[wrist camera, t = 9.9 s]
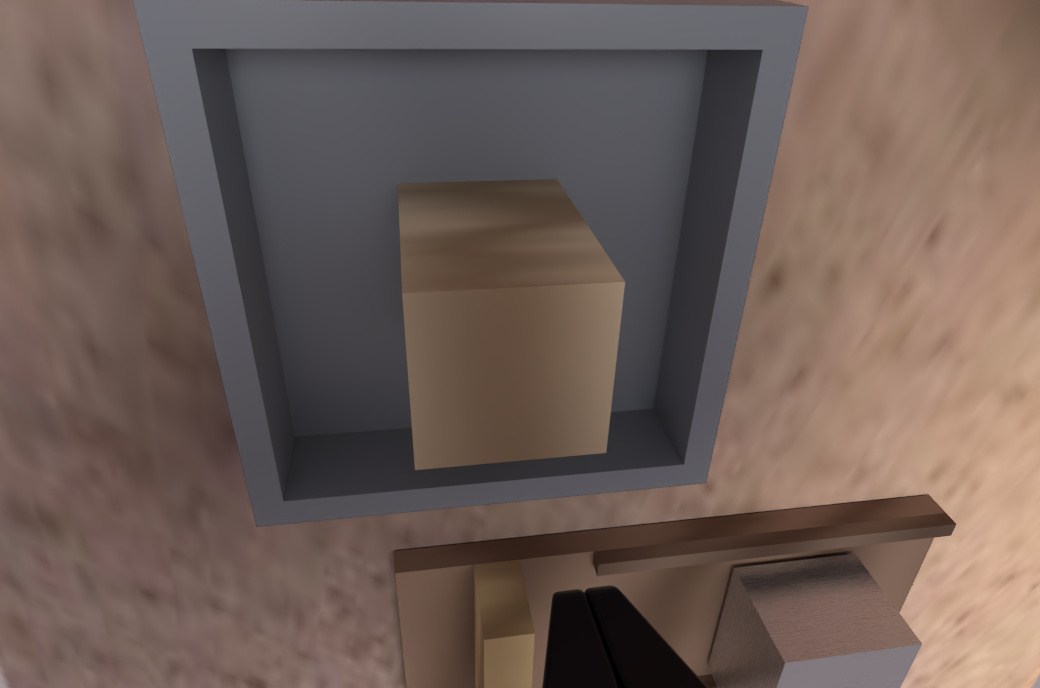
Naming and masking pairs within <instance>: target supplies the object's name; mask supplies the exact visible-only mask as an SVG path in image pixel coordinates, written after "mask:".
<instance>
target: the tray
mask: <svg viewBox="0 0 1040 688" xmlns="http://www.w3.org/2000/svg"><path fill="white" fill-rule="evenodd" d="M133 3H134V7H135V11H136V16H137V20H138V24H139V28H140V33H141V37H142V41H143V45H144V50H145V54H146V58H147V62H148V67H149V71H150V75H151V79H152V84H153V88H154V92H155V96H156V101H157V105H158V109H159V113H160V118H161V122H162V126H163V131H164V135H165V139H166V143H167V148H168V152H169V156H170V160H171V165H172V169H173V173H174V177H175V182H176V186H177V190H178V194H179V199H180V203H181V207H182V211H183V216H184V220H185V224H186V228H187V233H188V237H189V241H190V245H191V250H192V254H193V258H194V262H195V267H196V271H197V275H198V279H199V284H200V288H201V292H202V296H203V301H204V305H205V309H206V313H207V318H208V322H209V326H210V331H211V335H212V339H213V343H214V348H215V352H216V356H217V360H218V365H219V369H220V373H221V377H222V382H223V386H224V390H225V394H226V399H227V403H228V407H229V411H230V416H231V420H232V424H233V428H234V433H235V437H236V441H237V445H238V450H239V454H240V458H241V462H242V467H243V471H244V475H245V479H246V484H247V488H248V492H249V496H250V501H251V505H252V509H253V513H254V518H255V522H256V526H257V527H260V526H270V525H280V524H290V523H301V522H311V521H321V520H332V519H342V518H352V517H362V516H373V515H383V514H393V513H404V512H414V511H424V510H434V509H445V508H455V507H465V506H476V505H486V504H496V503H506V502H517V501H527V500H537V499H548V498H558V497H568V496H578V495H589V494H599V493H609V492H620V491H630V490H640V489H650V488H661V487H671V486H681V485H692V484H702V483H706V481H707V476H708V472H709V467H710V462H711V458H712V453H713V449H714V444H715V439H716V435H717V430H718V425H719V421H720V416H721V411H722V407H723V402H724V397H725V393H726V388H727V383H728V379H729V374H730V369H731V365H732V360H733V356H734V351H735V346H736V342H737V337H738V332H739V328H740V323H741V318H742V314H743V309H744V304H745V300H746V295H747V290H748V286H749V281H750V276H751V272H752V267H753V262H754V258H755V253H756V249H757V244H758V239H759V235H760V230H761V225H762V221H763V216H764V211H765V207H766V202H767V197H768V193H769V188H770V183H771V179H772V174H773V169H774V165H775V160H776V156H777V151H778V146H779V142H780V137H781V132H782V128H783V123H784V118H785V114H786V109H787V104H788V100H789V95H790V90H791V86H792V81H793V76H794V72H795V67H796V63H797V58H798V53H799V49H800V44H801V39H802V35H803V30H804V25H805V21H806V16H807V11H808V6H803V5H798V4H793V3H788V2H783V1H778V0H133ZM539 179H557V180H558V181H559V183H560V184H561V186H562V187H563V189H564V190H565V192H566V193H567V195H568V196H569V198H570V199H571V201H572V202H573V204H574V205H575V207H576V208H577V210H578V211H579V213H580V214H581V216H582V217H583V219H584V220H585V222H586V223H587V225H588V226H589V228H590V229H591V231H592V232H593V234H594V236H595V237H596V239H597V240H598V242H599V243H600V245H601V246H602V248H603V249H604V251H605V252H606V254H607V255H608V257H609V258H610V260H611V261H612V263H613V264H614V266H615V267H616V269H617V270H618V272H619V273H620V275H621V276H622V278H623V279H624V281H625V288H624V297H623V306H622V315H621V324H620V333H619V342H618V351H617V360H616V369H615V378H614V387H613V396H612V405H611V414H610V423H609V432H608V441H607V450H606V453H599V454H588V455H577V456H566V457H555V458H544V459H533V460H522V461H511V462H500V463H488V464H477V465H466V466H455V467H444V468H433V469H422V470H415V464H414V450H413V436H412V422H411V408H410V395H409V381H408V367H407V353H406V339H405V325H404V312H403V298H402V277H401V252H400V227H399V202H398V184H402V183H436V182H470V181H505V180H539Z"/></svg>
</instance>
